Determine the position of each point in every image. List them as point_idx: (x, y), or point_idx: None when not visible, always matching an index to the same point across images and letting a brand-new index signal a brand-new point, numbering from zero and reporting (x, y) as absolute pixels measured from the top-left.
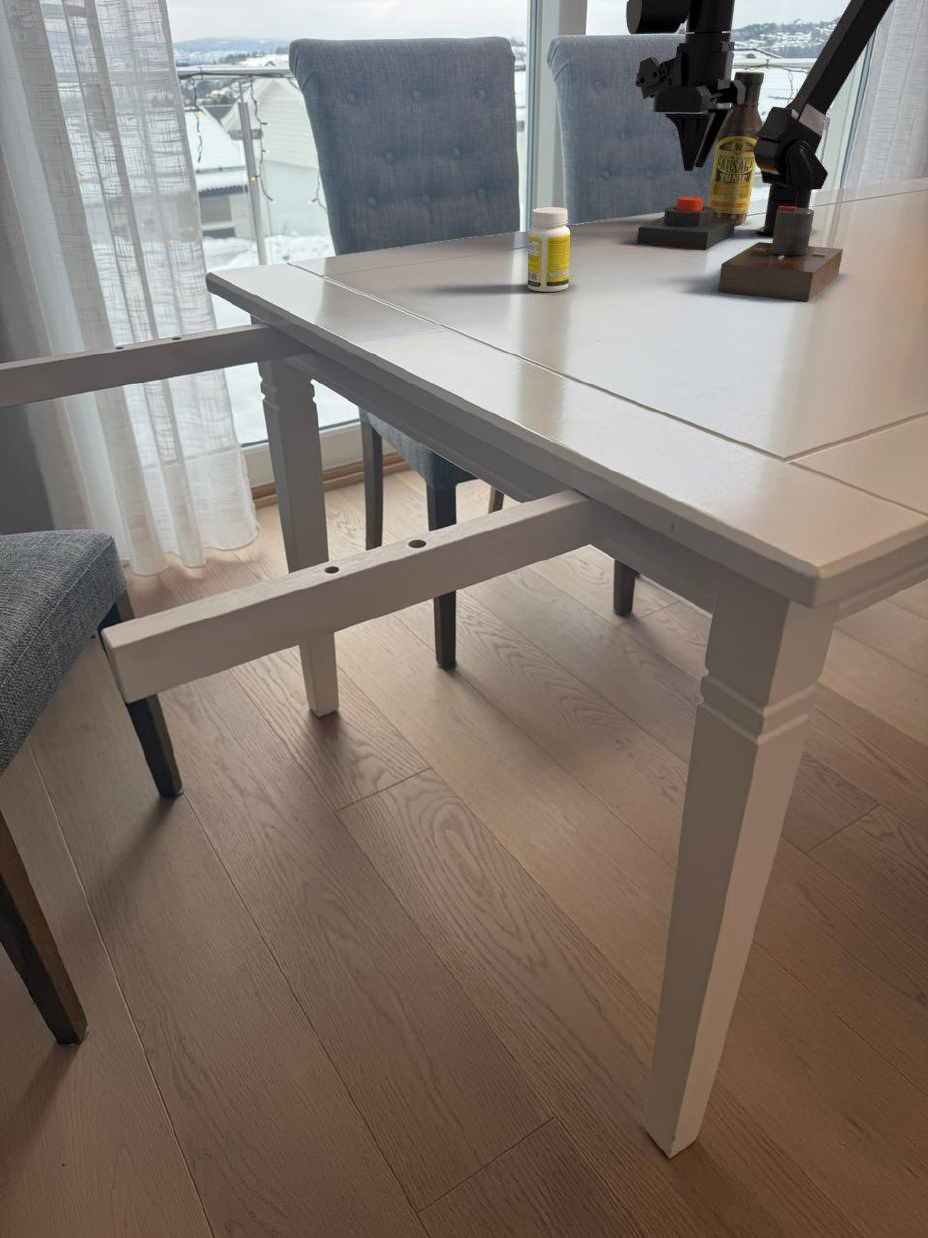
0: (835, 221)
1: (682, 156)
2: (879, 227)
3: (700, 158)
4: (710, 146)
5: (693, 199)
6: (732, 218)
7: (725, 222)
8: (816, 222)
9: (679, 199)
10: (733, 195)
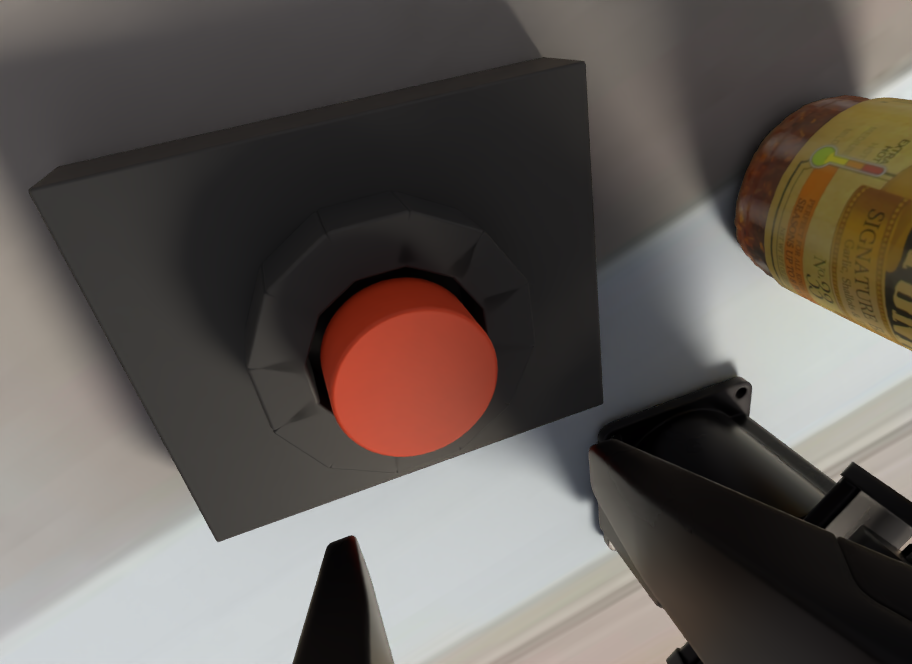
0: (897, 435)
1: (299, 646)
2: None
3: (623, 519)
4: (697, 649)
5: (372, 437)
6: (594, 396)
7: (491, 435)
8: (873, 411)
9: (335, 365)
10: (832, 298)
